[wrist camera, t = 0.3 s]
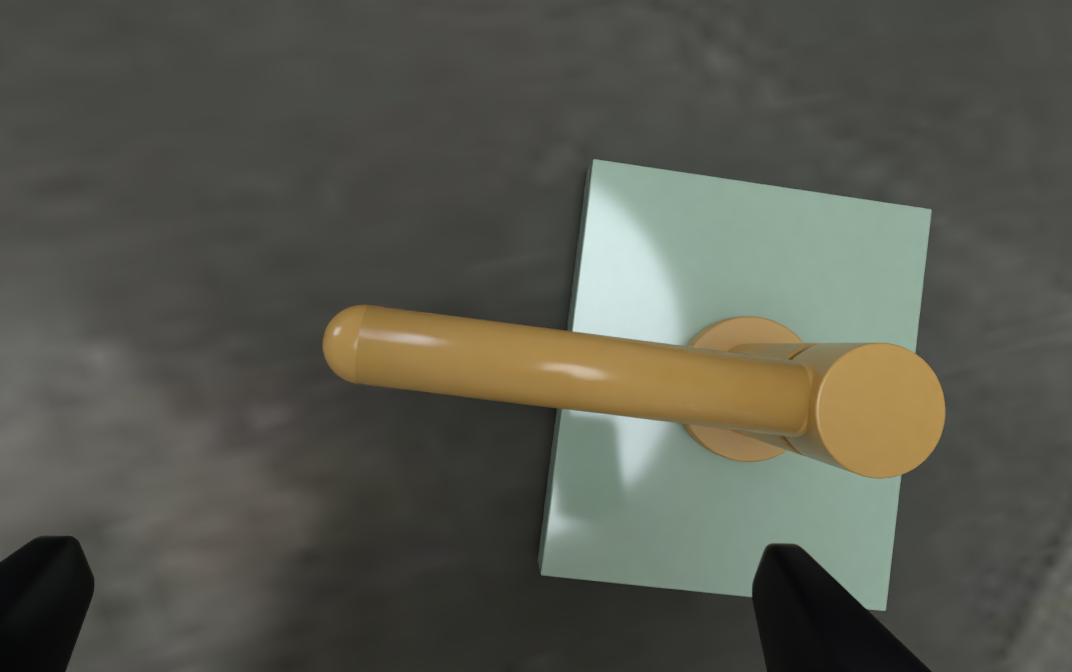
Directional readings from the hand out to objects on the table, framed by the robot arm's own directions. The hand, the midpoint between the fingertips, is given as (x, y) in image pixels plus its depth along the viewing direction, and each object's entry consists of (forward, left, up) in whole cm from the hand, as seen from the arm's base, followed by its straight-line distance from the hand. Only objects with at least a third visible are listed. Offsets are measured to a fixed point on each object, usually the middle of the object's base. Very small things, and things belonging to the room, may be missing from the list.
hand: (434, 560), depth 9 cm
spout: (0, -4, -9) cm, 10 cm away
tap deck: (-3, -9, -15) cm, 18 cm away
